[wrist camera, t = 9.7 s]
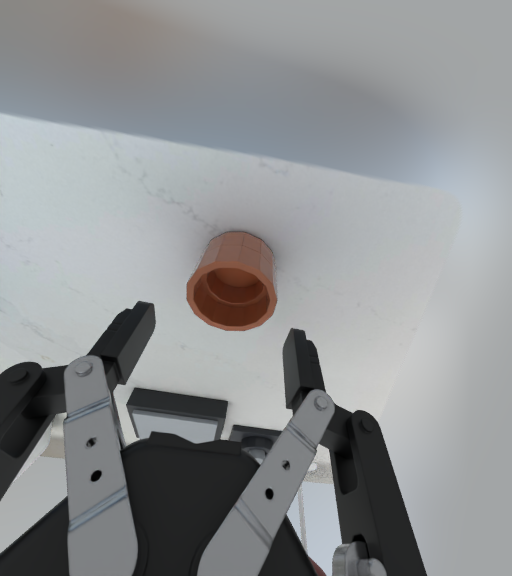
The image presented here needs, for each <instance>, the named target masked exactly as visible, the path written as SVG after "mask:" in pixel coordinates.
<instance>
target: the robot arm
mask: <svg viewBox="0 0 512 576" xmlns="http://www.w3.org/2000/svg"><path fill="white" fill-rule="evenodd" d="M155 324H156V320H155V309H154V304H153V303H148V302H142V301H138V302H137V303H136V305H135V306H134V308H133V309H125V310H124V311H122V312H121V313H119V314H118V315H117V316H116V317H115V319H114V320H113V321H112V324H110V325H109V327H108V328H107V330H106V331H105V332H104V333H103V334H102V336H101V337H100V338H99V340H98V341H97V342H96V344H95V345H94V346H93V348H92V349H91V350H90V352H89V353H88V354H87V355H86V356H83V357H80V358H78V359H76V360H74V361H73V362H71V363H70V364H69V365H65V366H58V367H50V368H42V367H41V366H40V365H39V364H38V363H36V362H23V363H19V364H16V365H14V366H12V367H10V368H8V369H6V370H5V371H4V372H2V373H1V374H0V501H1V499H2V497H3V496H4V494H5V493H6V491H7V489H8V488H9V487H10V485H11V484H12V482H13V480H14V479H15V477H16V476H17V474H18V473H19V471H20V470H21V468H22V467H23V465H24V463H25V462H26V460H27V459H28V457H29V456H30V454H31V453H32V451H33V450H34V448H35V446H36V445H37V443H38V442H39V440H40V439H41V437H42V436H43V434H44V433H45V431H46V429H47V428H48V426H49V425H50V423H51V422H52V420H53V419H54V417H55V416H56V414H59V413H64V412H67V417H66V418H65V419H64V422H63V431H64V446H65V461H66V476H67V492H68V496H67V497H66V498H64V499H63V500H62V501H61V502H60V503H59V504H58V505H56V506H55V507H54V508H53V509H52V510H50V511H49V512H48V513H47V514H46V515H45V516H44V517H42V518H41V519H40V520H39V521H38V522H37V523H35V524H34V525H33V526H32V527H31V528H29V529H28V530H27V531H26V532H25V533H24V534H22V536H20V537H19V538H18V539H17V540H16V541H14V542H13V543H12V544H11V545H10V546H9V547H8V548H6V549H5V550H4V551H3V552H2V553H0V576H318V574H317V572H316V570H315V568H314V566H313V564H312V562H311V560H310V559H309V557H308V555H307V553H306V551H305V549H304V547H303V545H302V543H301V541H300V540H299V537H298V536H297V534H296V532H295V530H294V528H293V526H292V524H291V522H290V520H289V518H288V516H287V514H286V513H287V511H288V509H289V507H290V505H291V503H292V501H293V499H294V497H295V495H296V493H297V491H298V489H299V487H300V485H301V483H302V481H303V479H304V477H305V475H306V473H307V471H308V469H309V467H310V465H311V463H312V461H313V459H314V457H315V455H316V452H317V450H316V448H317V446H318V444H320V445H322V446H324V447H326V448H328V449H329V452H330V459H331V466H332V474H333V481H334V487H335V495H336V502H337V509H338V516H339V524H340V531H341V538H342V545H340V546H338V547H337V548H336V550H335V552H334V555H333V562H332V571H333V573H332V576H427V574H426V571H425V568H424V564H423V562H422V558H421V555H420V552H419V549H418V546H417V542H416V539H415V536H414V533H413V530H412V527H411V523H410V521H409V517H408V514H407V511H406V508H405V505H404V501H403V498H402V495H401V492H400V489H399V486H398V482H397V479H396V476H395V473H394V470H393V467H392V464H391V460H390V457H389V454H388V451H387V448H386V444H385V441H384V438H383V435H382V432H381V429H380V427H379V424H378V422H377V421H376V420H375V418H374V417H373V416H372V415H370V414H369V413H367V412H365V411H362V410H357V411H355V412H354V413H351V412H349V411H347V410H345V409H343V408H341V407H339V406H338V405H336V404H335V403H334V402H333V400H332V399H331V397H330V396H329V395H328V394H327V393H326V390H325V386H324V381H323V377H322V372H321V368H320V365H319V358H318V354H317V349H316V347H315V345H314V344H313V342H312V341H310V340H306V335H305V331H304V330H299V329H293V328H291V330H290V332H289V334H288V336H287V339H286V341H285V343H284V346H283V367H284V383H285V398H286V409H292V410H293V417H292V418H291V420H290V421H289V423H288V424H287V426H286V427H285V429H284V430H283V431H282V433H281V434H280V436H279V437H278V439H277V440H276V442H275V443H274V445H273V446H272V448H271V449H270V451H269V452H268V454H267V455H266V457H265V458H264V460H263V461H262V463H261V464H259V462H258V461H257V460H256V459H255V458H254V457H253V456H252V455H251V454H250V453H248V452H247V451H245V450H244V449H241V445H242V442H236V441H228V440H215V441H209V442H203V443H193V442H191V441H189V440H187V439H184V438H182V437H180V436H178V435H176V434H172V433H164V432H156V431H151V434H150V436H149V438H144V439H141V440H138V441H136V442H133V443H131V444H130V445H128V446H126V443H125V439H124V436H123V432H122V428H121V424H120V420H119V416H118V411H117V407H116V402H115V398H114V393H113V391H114V389H115V388H116V386H117V384H121V385H125V384H126V382H127V380H128V379H129V377H130V375H131V373H132V371H133V369H134V367H135V365H136V364H137V362H138V360H139V358H140V356H141V354H142V352H143V351H144V349H145V347H146V345H147V343H148V341H149V339H150V337H151V336H152V334H153V332H154V329H155Z"/></svg>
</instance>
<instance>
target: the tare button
mask: <svg viewBox="0 0 512 576" xmlns="http://www.w3.org/2000/svg"><path fill="white" fill-rule="evenodd" d="M248 453H250V454H251V455H252V456H253V457H254V458H255V459H256V460H257V461H258V462H259V464H261V463H262V461H263V460H264V458H265V451H263V450H258V449H253V450H249V451H248Z"/></svg>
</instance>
